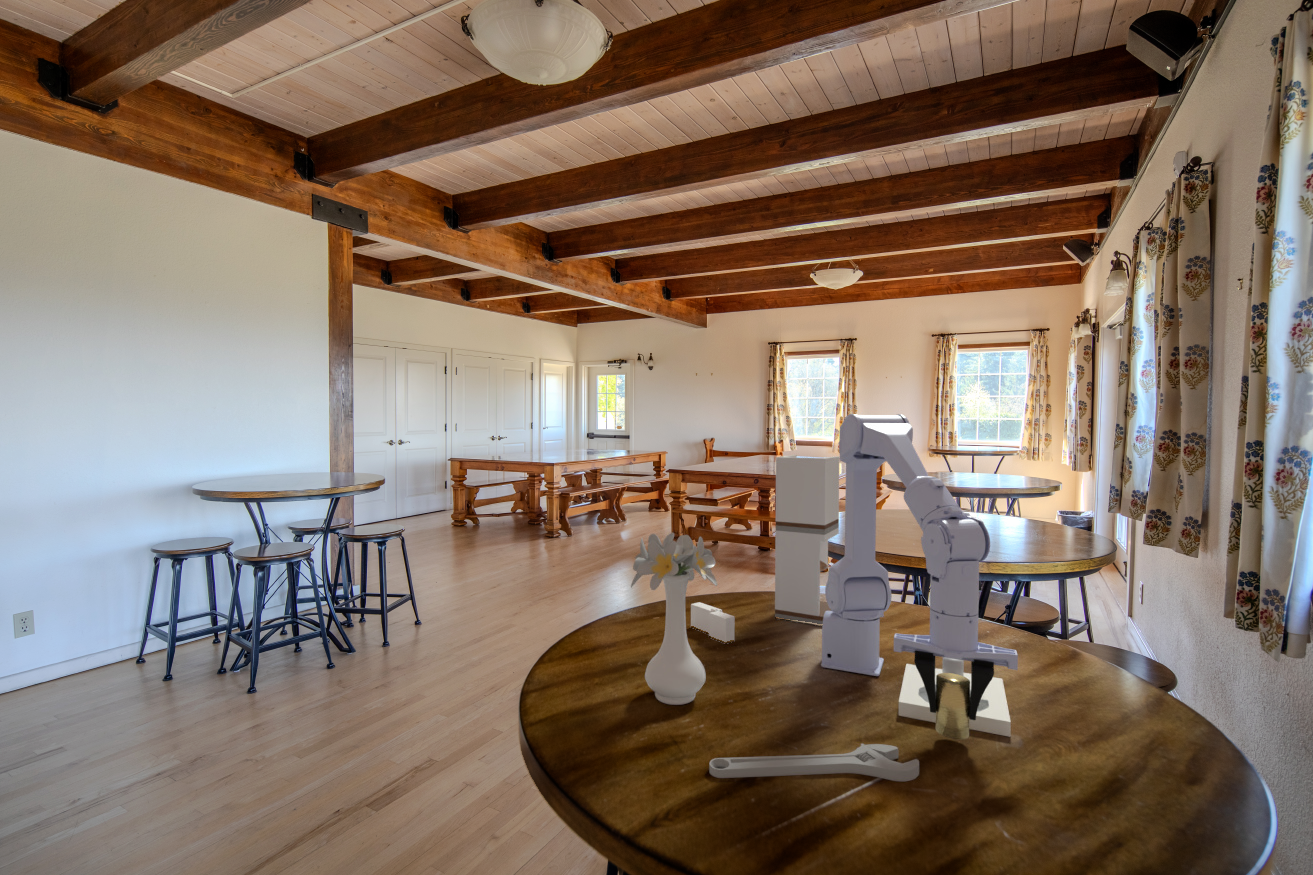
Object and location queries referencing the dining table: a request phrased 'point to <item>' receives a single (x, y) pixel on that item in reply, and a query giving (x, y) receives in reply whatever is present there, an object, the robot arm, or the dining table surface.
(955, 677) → the brass cylinder
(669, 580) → the flower vase
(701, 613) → the napkin holder
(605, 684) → the dining table surface
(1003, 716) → the board
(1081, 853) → the dining table surface
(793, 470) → the white stacked column
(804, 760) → the adjustable wrench
